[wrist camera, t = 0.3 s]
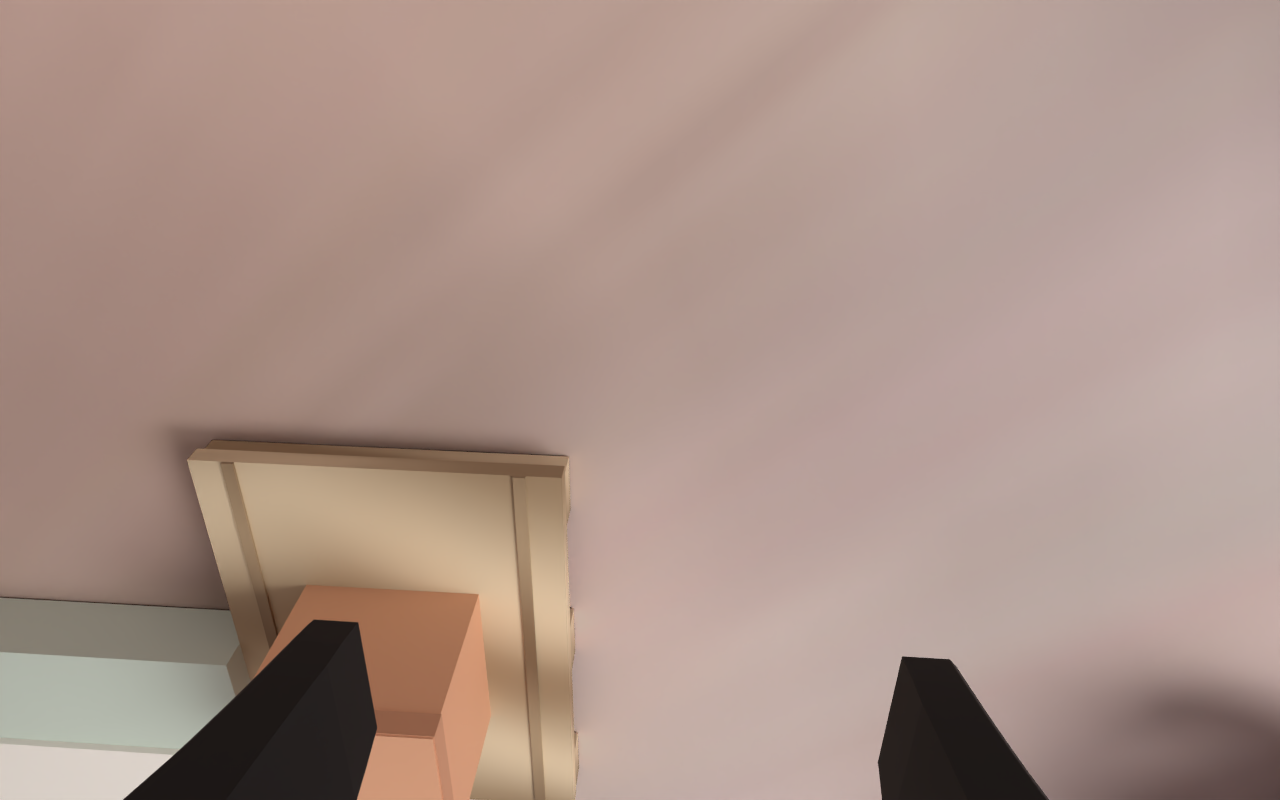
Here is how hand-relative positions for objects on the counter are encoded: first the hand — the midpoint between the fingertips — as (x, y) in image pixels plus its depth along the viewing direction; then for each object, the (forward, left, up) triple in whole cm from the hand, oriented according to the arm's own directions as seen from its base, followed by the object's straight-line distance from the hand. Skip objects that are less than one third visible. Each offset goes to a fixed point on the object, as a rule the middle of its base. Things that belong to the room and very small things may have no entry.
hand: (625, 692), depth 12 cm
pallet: (-9, +7, -10) cm, 15 cm away
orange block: (-9, +7, -9) cm, 14 cm away
